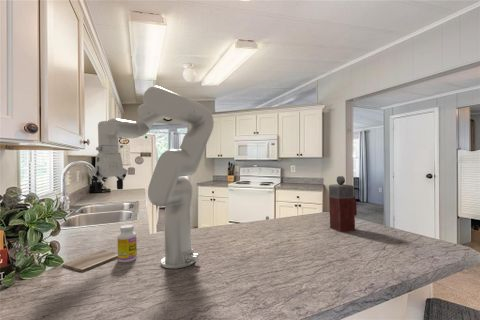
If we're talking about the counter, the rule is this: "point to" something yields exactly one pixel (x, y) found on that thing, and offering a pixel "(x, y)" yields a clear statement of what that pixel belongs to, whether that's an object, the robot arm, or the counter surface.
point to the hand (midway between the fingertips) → (109, 190)
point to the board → (91, 261)
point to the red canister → (342, 206)
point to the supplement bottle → (127, 244)
